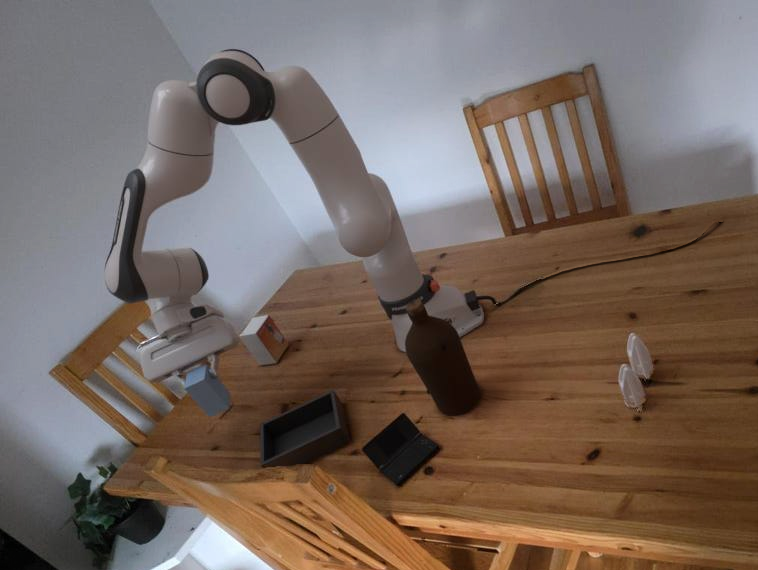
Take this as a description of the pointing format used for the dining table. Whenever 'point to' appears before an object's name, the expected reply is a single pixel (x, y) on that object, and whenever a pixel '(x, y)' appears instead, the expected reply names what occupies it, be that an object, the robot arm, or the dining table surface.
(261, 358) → the small box
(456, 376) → the olive oil
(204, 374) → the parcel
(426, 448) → the handheld gaming console
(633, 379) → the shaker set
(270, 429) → the tote
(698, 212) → the dining table surface
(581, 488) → the dining table surface
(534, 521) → the dining table surface
